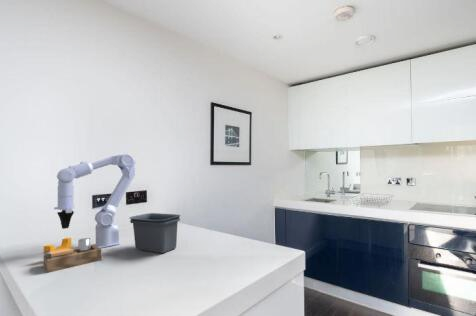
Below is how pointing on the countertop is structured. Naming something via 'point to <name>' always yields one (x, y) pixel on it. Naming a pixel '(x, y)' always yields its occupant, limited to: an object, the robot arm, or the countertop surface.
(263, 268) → the countertop surface
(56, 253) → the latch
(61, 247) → the pipe clamp
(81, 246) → the peg
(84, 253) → the wooden box
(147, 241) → the storage bin
